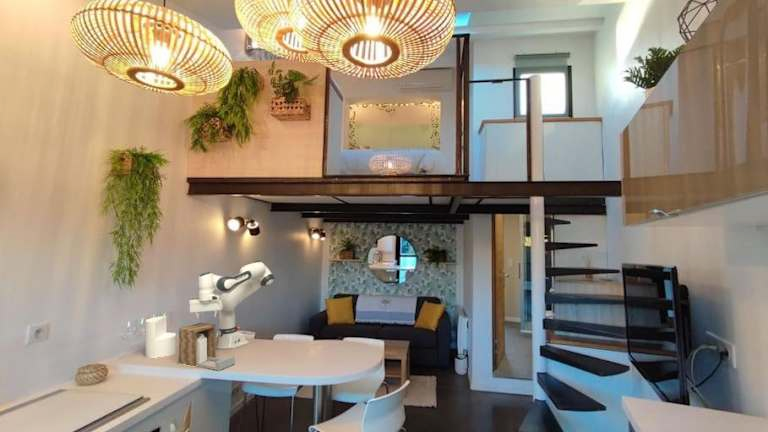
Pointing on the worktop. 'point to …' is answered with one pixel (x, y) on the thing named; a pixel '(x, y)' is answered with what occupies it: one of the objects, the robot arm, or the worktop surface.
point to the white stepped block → (159, 338)
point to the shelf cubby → (189, 342)
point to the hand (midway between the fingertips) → (206, 317)
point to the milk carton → (201, 348)
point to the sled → (219, 362)
